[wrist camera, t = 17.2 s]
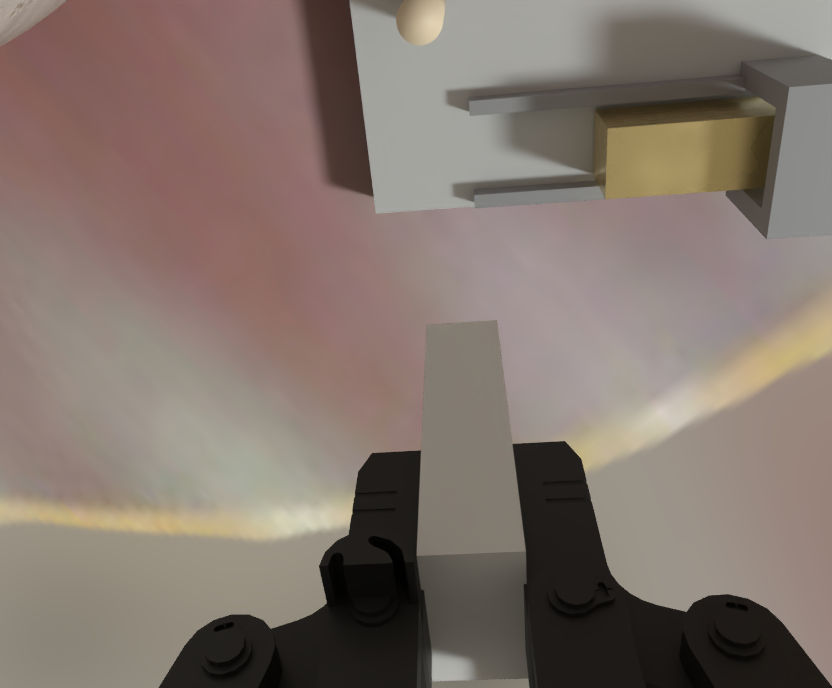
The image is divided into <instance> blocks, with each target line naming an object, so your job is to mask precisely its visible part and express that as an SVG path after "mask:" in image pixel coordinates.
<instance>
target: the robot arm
mask: <svg viewBox="0 0 832 688" xmlns="http://www.w3.org/2000/svg"><path fill="white" fill-rule="evenodd" d="M319 568H320V573H321V577H322V582H323V586H324V591H325V595H326V600H327V604H326V605H325V606H324V607H322V608H321V609H319V610H318V611H316V612H315V613H313V614H312V615H309V616H307V617H305V618H302V619H300V620H298V621H294V622H291V623H288V624H285V625H282V626H279V627H276V628H272V629H270V628H269V627H268V625H267V624H266V623H265V622H264V621H263V620H261V619H259V618H256V617H253V616H251V615H229V616H226V617H223V618H219V619H217V620H213V621H212V622H210V623H209V624H207V625H206V626H204V627H203V628H201V629H200V630H198V631H197V632H196V633H195V634H194V635H193V637H192V638H191V639H190V640H189V641H188V642H187V644H186V645H185V646H184V648H183V649H182V651H181V653H180V654H179V656H178V657H177V659H176V661H175V662H174V664H173V666H172V667H171V669H170V670H169V672H168V674H167V675H166V677H165V678H164V680H163V682H162V683H161V685H160V687H159V688H431V687H432V681H431V680H433V681H451V680H452V681H453V680H488V679H521V678H529V687H530V688H832V686H831V685H830V683H829V682H828V681H827V680H826V678H825V677H824V676H823V674H822V673H821V672H820V671H819V669H818V668H817V667H816V666H815V664H814V663H813V662H812V661H811V659H810V658H809V656H808V655H807V654H806V653H805V651H804V650H803V649H802V647H801V646H800V645H799V644H798V642H797V641H796V640H795V638H794V637H793V636H792V635H791V633H789V631H788V630H787V628H786V627H785V626H784V624H783V623H782V622H781V621H780V620H779V619H778V618H776V616H774V615H773V614H772V613H771V612H770V611H769V610H768V609H767V608H765V607H763V606H761V605H759V604H757V603H755V602H753V601H751V600H749V599H746V598H742V597H738V596H733V595H729V594H726V595H711V596H707V597H705V598H703V599H701V600H698V601H696V602H694V603H693V604H692V606H691V607H690V608H689V610H688V611H687V612H684V611H680V610H676V609H671V608H666V607H662V606H658V605H655V604H652V603H649V602H646V601H643V600H641V599H639V598H637V597H636V596H634V595H632V594H630V593H629V592H628V591H626V590H625V589H624V588H622V587H621V586H620V585H619V584H618V583H617V581H616V580H615V579H614V577H613V576H612V575H611V573H610V570H609V568H608V565H607V562H606V558H605V554H604V550H603V546H602V542H601V538H600V534H599V530H598V526H597V522H596V518H595V513H594V509H593V505H592V502H591V497H590V493H589V489H588V485H587V484H586V477H585V473H584V469H583V464H582V460H581V458H580V457H579V456H578V455H577V454H576V453H575V452H574V451H573V449H572V448H571V447H570V446H569V445H568V444H567V443H566V442H565V441H560V442H541V443H522V444H512V437H511V429H510V421H509V413H508V405H507V397H506V389H505V381H504V373H503V365H502V357H501V349H500V341H499V333H498V325H497V320H492V321H477V322H461V323H446V324H430V325H426V348H425V371H424V395H423V418H422V441H421V451H404V452H385V453H372V454H371V455H370V457H369V458H368V460H367V461H366V462H365V464H364V465H363V466H362V468H361V469H360V470H359V472H358V477H357V484H356V490H355V497H354V503H353V514H352V517H351V523H350V530H349V535H347V536H345V537H344V538H341V539H339V540H338V541H336V542H335V543H334V544H333V545H332V546H331V547H330V548H329V549H328V550H327V551H326V552H325V554H324V556H323V558H322V561H321V563H320V565H319Z"/></svg>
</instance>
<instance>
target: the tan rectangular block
mask: <svg viewBox="0 0 832 688" xmlns="http://www.w3.org/2000/svg"><path fill="white" fill-rule="evenodd" d="M775 112H776V108H775V107H774V106H772V105H771V104H769V103H767V102H766V101H764V100H763V99H761V98H759V97H758V96H752V97H740V98H728V99H715V100H703V101H691V102H678V103H666V104H654V105H641V106H629V107H617V108H604V109H595V114H594V153H593V176H594V178H595V180H596V182H597V184H598V186H599V188H600V190H601V192H602V194H603V196H604V198H605V199H614V198H628V197H642V196H656V195H671V194H685V193H699V192H713V191H727V190H742V189H756V188H765V182H766V175H767V168H768V161H769V154H770V147H771V140H772V133H773V126H774V119H775Z"/></svg>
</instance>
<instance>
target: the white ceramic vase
mask: <svg viewBox="0 0 832 688" xmlns="http://www.w3.org/2000/svg"><path fill="white" fill-rule="evenodd" d="M65 1H67V0H0V46H2V45H4V44H5V43H7V42H9V41H10V40H12V39H14V38H16V37H17V36H19V35H21V34H22V33H24V32H26V31H27V30H29V29H30V28H31V27H33V26H34V25H36V24H37V23H38V22H40V21H41V20H43V19H44V18H45V17H47V16H48V15H49V14H50V13H52V12H53V11H54V10H56V9H57V8H58V7H59V6H61V5H62V4H63V3H64V2H65Z"/></svg>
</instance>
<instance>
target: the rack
mask: <svg viewBox="0 0 832 688" xmlns="http://www.w3.org/2000/svg"><path fill="white" fill-rule="evenodd" d="M349 1H350V9H351V17H352V25H353V33H354V41H355V49H356V57H357V65H358V73H359V82H360V90H361V98H362V106H363V114H364V122H365V130H366V138H367V146H368V154H369V162H370V170H371V178H372V186H373V194H374V202H375V210H376V213H389V212H403V211H418V210H432V209H446V208H460V207H474V206H475V208H486V207H501V206H515V205H529V204H543V203H558V202H572V201H586V200H600V199H605V198H604V196H603V194H602V192H601V190H600V188H599V186H598V184H597V182H596V180H595V178H594V176H593V153H594V114H595V109H604V108H617V107H629V106H641V105H654V104H666V103H678V102H691V101H703V100H715V99H728V98H740V97H752V96H758V97H759V98H761V99H763V100H764V101H766V102H767V103H769V104H771V105H772V106H774V107H775V108H776V112H775V119H774V126H773V133H772V140H771V147H770V154H769V161H768V168H767V175H766V182H765V188H756V189H742V190H727V191H726V196H727V197H728V198H729V199H730V201H731V202H732V203H733V204H734V205H735V206H736V207H737V208H738V209H739V210H740V211H741V212H742V213H743V214H744V215H745V217H746V218H747V219H748V220H749V221H750V222H751V223H752V224H753V225H754V226H755V227H756V228H757V229H758V230H759V232H760V233H761V234H762V235H763V236H764V237H765V238H766V239H778V238H793V237H809V236H824V235H832V60H831V57H832V0H349ZM713 192H714V191H713ZM699 193H700V192H699ZM656 196H657V195H656ZM642 197H643V196H642ZM628 198H629V197H628Z"/></svg>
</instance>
